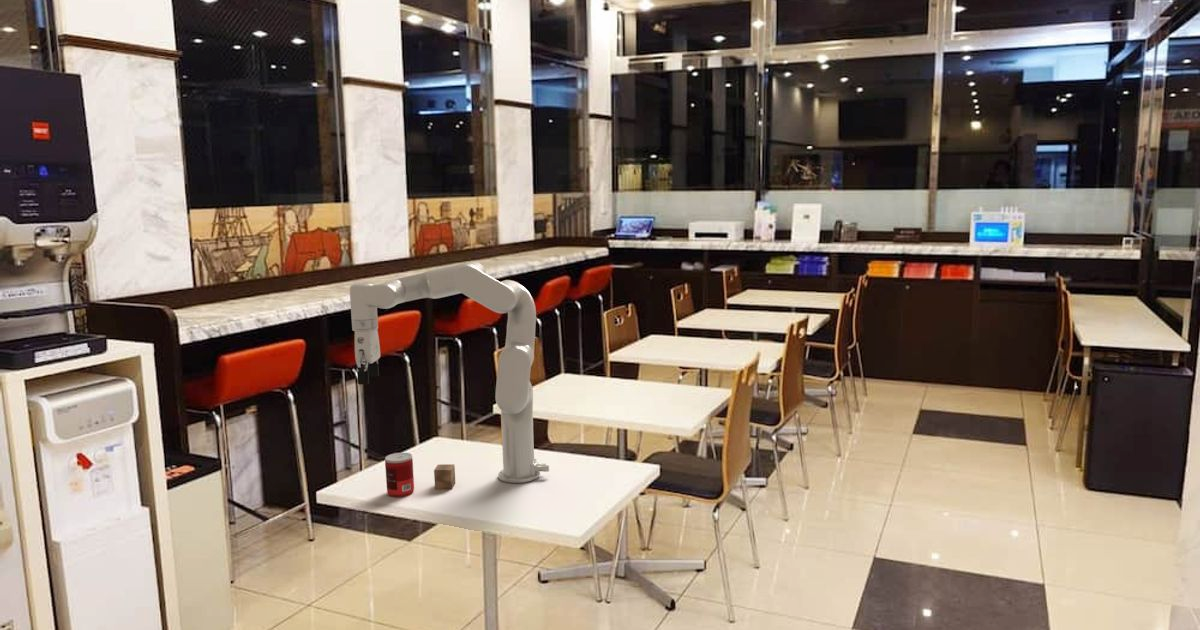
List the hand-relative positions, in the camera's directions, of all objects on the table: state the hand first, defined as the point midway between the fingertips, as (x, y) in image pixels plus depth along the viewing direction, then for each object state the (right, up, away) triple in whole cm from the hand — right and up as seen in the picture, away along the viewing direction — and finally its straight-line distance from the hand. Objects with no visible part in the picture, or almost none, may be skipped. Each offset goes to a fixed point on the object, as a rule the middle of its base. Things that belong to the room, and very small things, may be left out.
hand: (368, 380), depth 259 cm
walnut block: (+24, -31, -4) cm, 39 cm away
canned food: (+12, -32, -8) cm, 35 cm away
